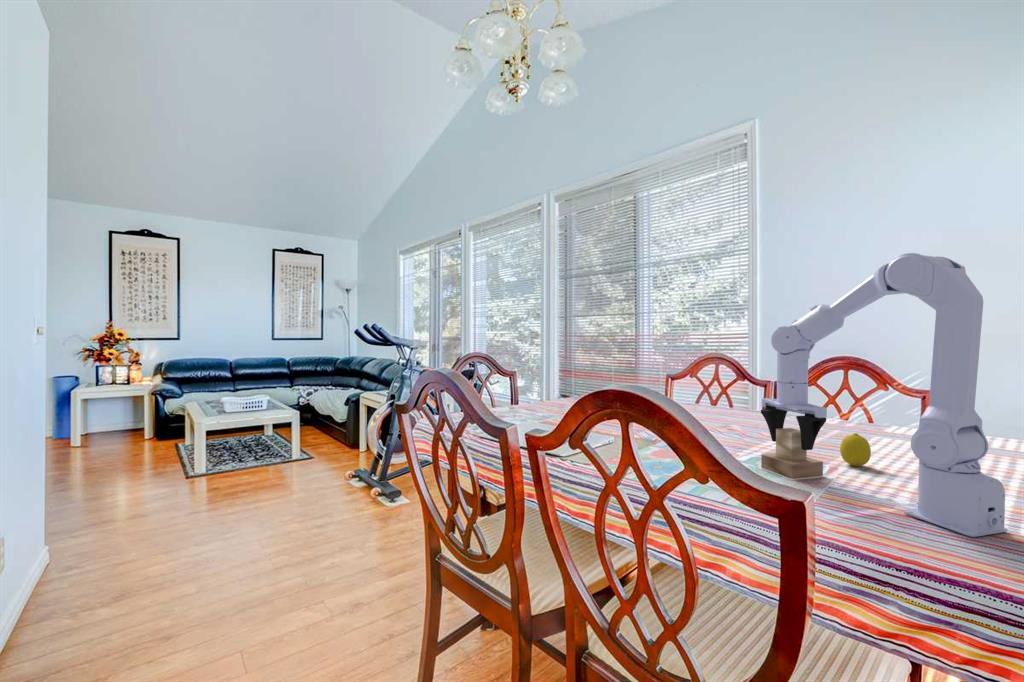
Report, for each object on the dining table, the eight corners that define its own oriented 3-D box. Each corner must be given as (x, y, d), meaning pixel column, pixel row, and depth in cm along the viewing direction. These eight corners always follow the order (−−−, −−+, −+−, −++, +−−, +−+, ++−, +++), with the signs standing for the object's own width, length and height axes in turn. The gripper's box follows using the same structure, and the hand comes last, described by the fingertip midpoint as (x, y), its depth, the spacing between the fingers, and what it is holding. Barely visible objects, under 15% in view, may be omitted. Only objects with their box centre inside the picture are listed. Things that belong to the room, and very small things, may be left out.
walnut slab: (822, 475, 94) (822, 461, 94) (792, 478, 92) (792, 464, 92) (790, 465, 102) (790, 451, 102) (761, 467, 100) (761, 454, 100)
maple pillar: (806, 459, 96) (806, 431, 96) (791, 461, 95) (791, 432, 95) (790, 454, 100) (790, 427, 100) (775, 456, 99) (776, 428, 99)
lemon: (871, 473, 98) (871, 437, 98) (839, 468, 101) (840, 433, 101) (870, 467, 102) (870, 432, 102) (840, 463, 106) (840, 429, 106)
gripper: (750, 379, 103) (750, 438, 103) (807, 386, 89) (806, 455, 89) (776, 378, 105) (775, 436, 105) (835, 385, 91) (834, 452, 91)
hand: (791, 445), depth 97 cm, fingers open, 7 cm apart
